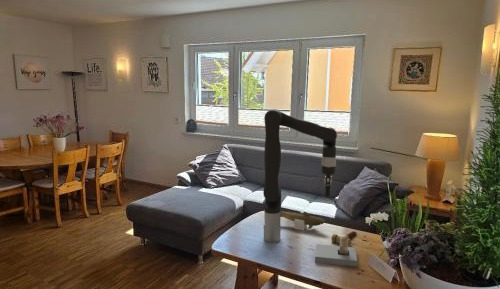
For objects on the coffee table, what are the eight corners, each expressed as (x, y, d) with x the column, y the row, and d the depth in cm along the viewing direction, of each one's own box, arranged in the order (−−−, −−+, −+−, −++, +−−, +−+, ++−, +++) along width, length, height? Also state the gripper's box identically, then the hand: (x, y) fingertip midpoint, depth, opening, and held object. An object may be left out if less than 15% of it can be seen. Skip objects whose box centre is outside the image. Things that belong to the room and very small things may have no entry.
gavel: (348, 226, 197) (364, 230, 190) (348, 233, 197) (363, 238, 191) (331, 235, 182) (347, 240, 175) (330, 242, 182) (347, 248, 175)
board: (315, 262, 161) (315, 256, 161) (315, 249, 175) (316, 243, 174) (356, 266, 156) (357, 260, 156) (354, 252, 170) (354, 247, 169)
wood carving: (275, 219, 216) (275, 203, 214) (326, 229, 199) (327, 212, 197) (269, 224, 208) (269, 208, 206) (322, 235, 191) (323, 217, 190)
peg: (339, 259, 163) (339, 237, 161) (338, 255, 167) (339, 233, 165) (348, 260, 162) (348, 238, 160) (347, 256, 166) (348, 234, 164)
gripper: (321, 161, 181) (321, 189, 184) (321, 167, 168) (320, 197, 170) (335, 162, 180) (334, 190, 182) (336, 168, 166) (334, 198, 169)
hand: (327, 193), depth 176 cm, fingers open, 8 cm apart
